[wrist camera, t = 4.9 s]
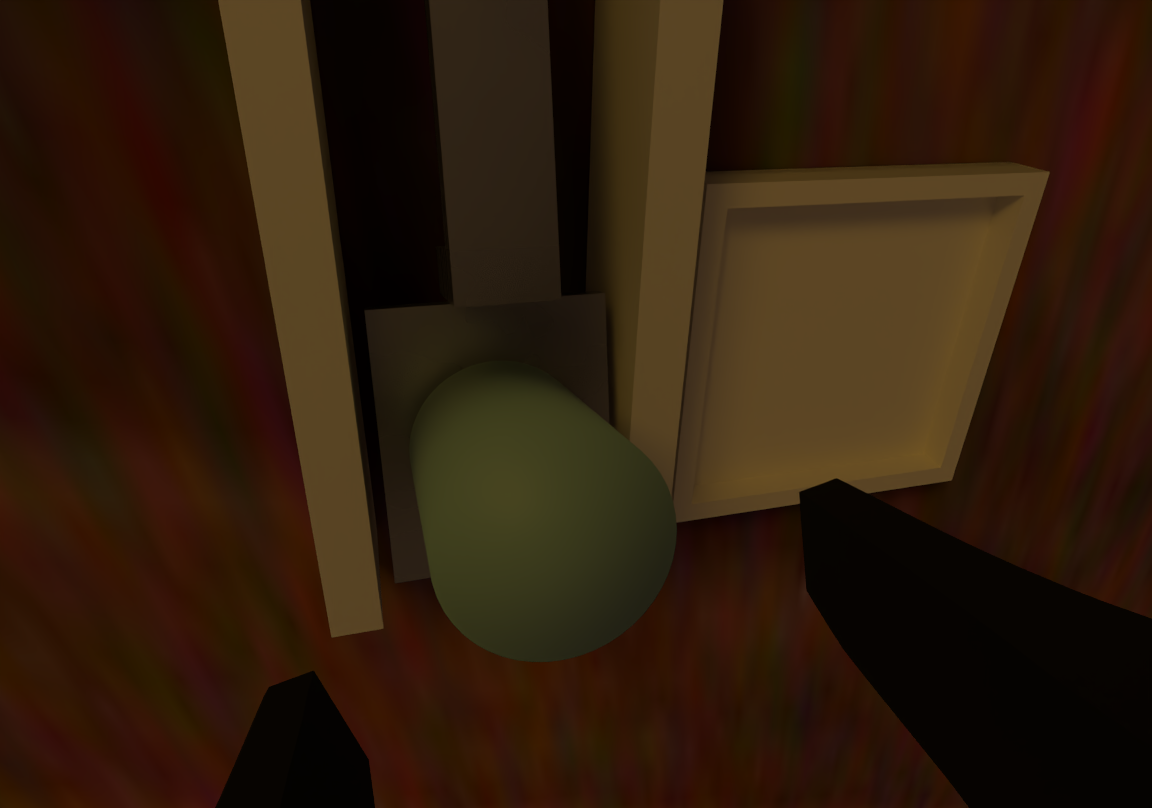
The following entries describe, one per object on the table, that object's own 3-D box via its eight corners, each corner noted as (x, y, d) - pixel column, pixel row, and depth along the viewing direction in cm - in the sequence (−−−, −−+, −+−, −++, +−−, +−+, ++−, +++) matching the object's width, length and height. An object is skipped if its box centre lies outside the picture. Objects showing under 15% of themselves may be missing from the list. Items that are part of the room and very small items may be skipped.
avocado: (581, 352, 17) (675, 411, 12) (588, 517, 18) (677, 637, 13) (400, 369, 16) (416, 440, 11) (417, 542, 17) (440, 683, 12)
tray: (1010, 161, 21) (1049, 172, 20) (924, 458, 26) (951, 480, 25) (684, 172, 19) (707, 184, 18) (654, 496, 24) (671, 523, 23)
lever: (761, -388, 15) (893, -592, 11) (747, 516, 20) (836, 585, 16) (278, -469, 13) (240, -756, 9) (394, 571, 18) (401, 667, 14)
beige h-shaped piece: (661, -248, 15) (756, -320, 11) (616, 494, 23) (662, 580, 20) (197, -302, 13) (145, -408, 9) (333, 534, 21) (331, 637, 18)
